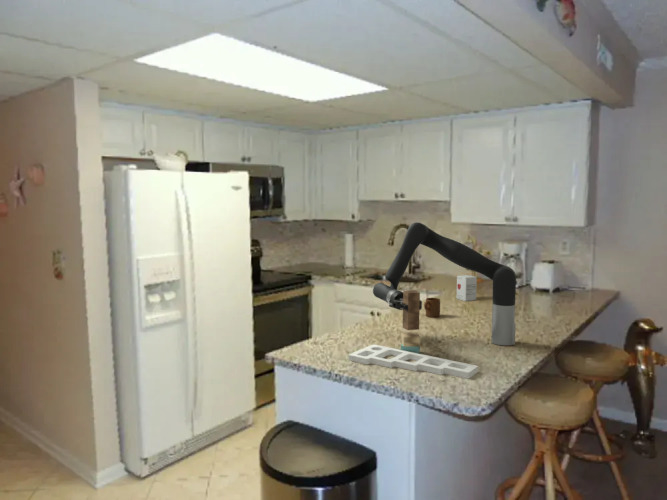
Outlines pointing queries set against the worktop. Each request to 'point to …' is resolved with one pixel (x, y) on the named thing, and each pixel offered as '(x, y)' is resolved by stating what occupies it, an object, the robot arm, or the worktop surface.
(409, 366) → the holder
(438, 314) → the mug
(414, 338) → the tower mid
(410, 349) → the tower base
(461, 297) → the supplement box
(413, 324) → the walnut column
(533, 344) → the worktop surface
